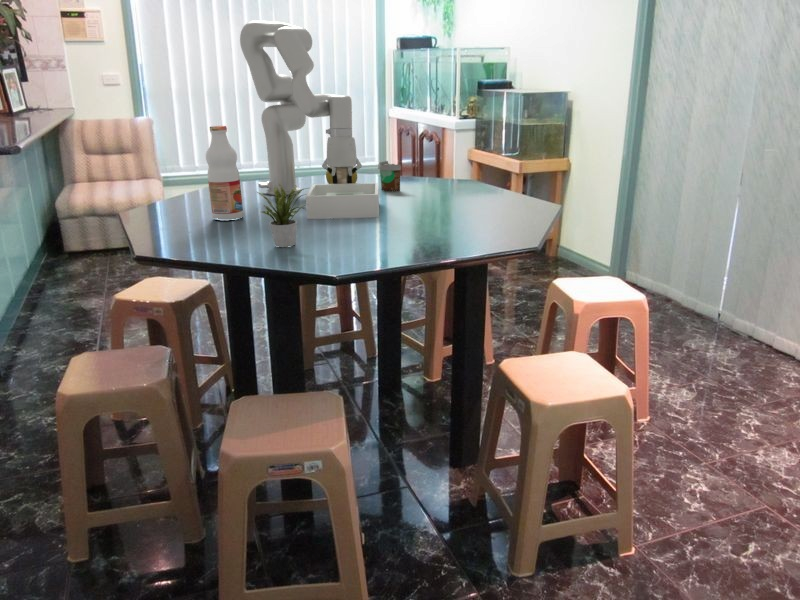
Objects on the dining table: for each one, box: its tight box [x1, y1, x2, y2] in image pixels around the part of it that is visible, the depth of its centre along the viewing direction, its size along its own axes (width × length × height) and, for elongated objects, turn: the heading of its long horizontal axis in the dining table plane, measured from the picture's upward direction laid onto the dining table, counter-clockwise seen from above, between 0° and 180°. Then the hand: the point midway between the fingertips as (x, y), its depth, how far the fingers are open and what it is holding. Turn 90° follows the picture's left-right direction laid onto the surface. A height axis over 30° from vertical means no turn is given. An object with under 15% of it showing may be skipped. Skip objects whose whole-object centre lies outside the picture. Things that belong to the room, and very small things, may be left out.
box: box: [305, 182, 380, 220], centre depth 208 cm, size 22×22×7 cm
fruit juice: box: [205, 125, 244, 219], centre depth 198 cm, size 9×9×28 cm
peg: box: [336, 167, 348, 184], centre depth 226 cm, size 4×4×10 cm
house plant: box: [256, 184, 309, 247], centre depth 166 cm, size 14×14×16 cm
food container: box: [377, 160, 402, 192], centre depth 243 cm, size 12×6×10 cm, turn 25°
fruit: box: [325, 167, 358, 184], centre depth 245 cm, size 11×12×10 cm
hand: (342, 186), depth 227 cm, fingers closed on peg, 4 cm apart
